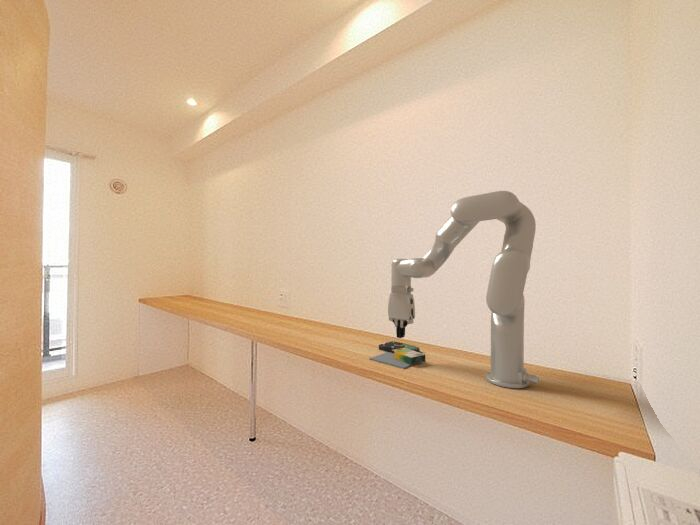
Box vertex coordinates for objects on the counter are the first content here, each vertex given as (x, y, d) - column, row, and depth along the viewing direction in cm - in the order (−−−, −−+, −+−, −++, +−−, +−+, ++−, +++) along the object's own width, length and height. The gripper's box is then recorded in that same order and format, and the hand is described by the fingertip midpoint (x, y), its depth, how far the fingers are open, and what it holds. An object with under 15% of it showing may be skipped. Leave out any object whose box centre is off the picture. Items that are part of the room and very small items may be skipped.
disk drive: (378, 351, 135) (406, 358, 125) (378, 344, 135) (406, 351, 125) (392, 346, 143) (420, 352, 132) (392, 340, 143) (420, 346, 132)
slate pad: (421, 361, 119) (421, 360, 119) (404, 368, 110) (404, 367, 110) (387, 353, 130) (387, 352, 130) (369, 359, 121) (369, 358, 121)
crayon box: (425, 362, 116) (404, 354, 126) (425, 354, 116) (404, 347, 126) (411, 365, 112) (391, 357, 122) (411, 357, 112) (391, 349, 122)
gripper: (422, 291, 117) (422, 338, 117) (390, 288, 127) (390, 332, 127) (412, 292, 112) (412, 342, 112) (379, 289, 122) (379, 335, 122)
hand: (400, 337), depth 119 cm, fingers closed
